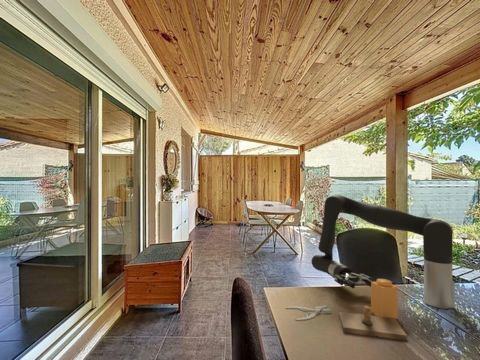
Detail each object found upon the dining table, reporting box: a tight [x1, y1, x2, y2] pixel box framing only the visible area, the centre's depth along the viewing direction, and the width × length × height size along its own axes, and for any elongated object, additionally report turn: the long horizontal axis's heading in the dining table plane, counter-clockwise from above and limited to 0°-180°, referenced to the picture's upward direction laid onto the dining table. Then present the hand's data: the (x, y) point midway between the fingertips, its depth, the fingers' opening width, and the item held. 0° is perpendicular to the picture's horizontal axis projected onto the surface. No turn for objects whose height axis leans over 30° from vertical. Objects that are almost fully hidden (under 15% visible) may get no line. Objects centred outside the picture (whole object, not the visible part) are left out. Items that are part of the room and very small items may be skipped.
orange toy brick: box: [370, 278, 399, 320], centre depth 98 cm, size 6×6×12 cm
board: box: [338, 305, 408, 341], centre depth 89 cm, size 18×11×6 cm, turn 77°
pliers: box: [285, 305, 332, 322], centre depth 99 cm, size 10×2×15 cm
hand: (363, 285), depth 109 cm, fingers open, 8 cm apart
